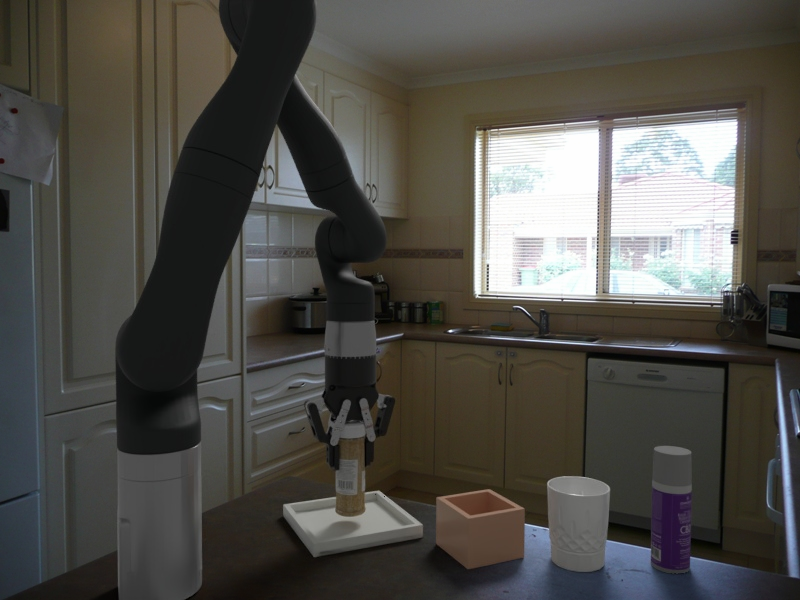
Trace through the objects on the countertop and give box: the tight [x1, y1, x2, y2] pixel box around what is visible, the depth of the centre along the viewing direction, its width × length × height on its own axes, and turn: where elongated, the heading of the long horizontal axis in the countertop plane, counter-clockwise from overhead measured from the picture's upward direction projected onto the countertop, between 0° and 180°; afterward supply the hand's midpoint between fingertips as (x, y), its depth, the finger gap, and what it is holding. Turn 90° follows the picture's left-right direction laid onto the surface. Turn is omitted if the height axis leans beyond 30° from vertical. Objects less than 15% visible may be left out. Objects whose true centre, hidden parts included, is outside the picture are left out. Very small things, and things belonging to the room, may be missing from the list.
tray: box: [282, 490, 424, 558], centre depth 96 cm, size 16×16×2 cm
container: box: [650, 445, 693, 575], centre depth 83 cm, size 5×5×15 cm
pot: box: [435, 488, 526, 570], centre depth 87 cm, size 9×9×6 cm
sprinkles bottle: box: [335, 420, 366, 517], centre depth 95 cm, size 5×5×13 cm
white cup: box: [546, 475, 611, 573], centre depth 84 cm, size 8×8×10 cm
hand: (350, 466), depth 95 cm, fingers closed on sprinkles bottle, 4 cm apart
